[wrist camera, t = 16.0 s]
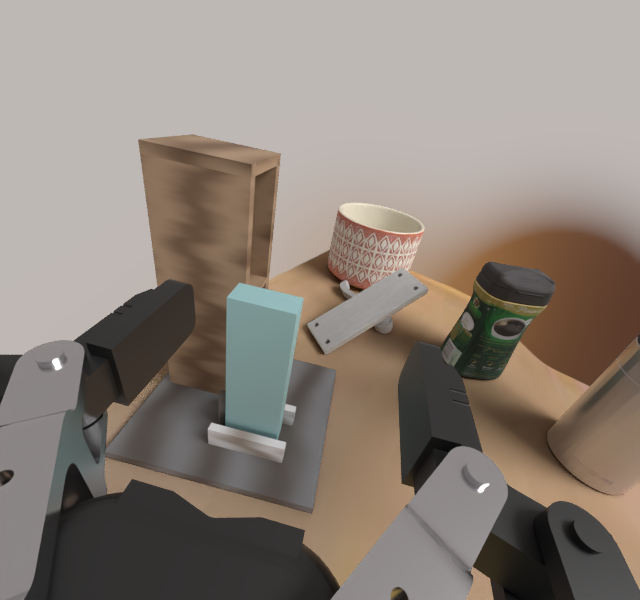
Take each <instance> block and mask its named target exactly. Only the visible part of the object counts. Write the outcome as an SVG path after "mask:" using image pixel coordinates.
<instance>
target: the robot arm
mask: <svg viewBox="0 0 640 600" xmlns="http://www.w3.org/2000/svg"><path fill="white" fill-rule="evenodd" d="M195 322H196V315H195V302H194V290H193V287H192V285H191V284H188V283H184V282H180V281H176V280H172V279H168V280H166V281H165V282H163V283H162V284H161V285H159V286H158V287H157V288H156V289H154V290H153V289H150V290H148V291H145V292H142V293H140V294H137V295H135V296H134V297H132V298H131V299H130V300H128V301H127V302H125V303H124V305H123V306H120V307H119V308H117V309H116V310H115V311H114V313H111V314H110V315H108V316H107V317H105V318H104V319H103V320H101V321H100V322H99V323H97V324H96V325H94V326H93V327H92V328H90V329H89V330H88V331H86V332H85V333H84V334H82V335H81V336H80V337H78V338H77V339H75V340H74V341H67V340H65V341H64V340H63V341H54V342H49V343H46V344H42V345H40V346H37V347H35V348H33V349H31V350H29V351H28V352H26V353H25V354H24V355H0V600H465V599H466V597H467V595H468V593H469V591H470V588H471V586H472V583H473V575H472V574H471V569H472V567H474V568H476V569H477V570H479V571H480V572H482V573H483V574H484V575H486V576H487V577H489V578H490V580H491V586H492V592H493V597H494V600H640V590H639V588H638V586H637V584H636V582H635V580H634V578H633V576H632V574H631V571H630V569H629V567H628V565H627V563H626V561H625V559H624V557H623V555H622V553H621V551H620V549H619V547H618V545H617V543H616V542H615V540H614V539H613V537H612V536H611V535H610V533H609V532H608V531H607V530H606V529H605V527H604V526H603V525H602V524H601V523H600V522H599V521H598V520H597V519H595V518H594V517H593V516H592V515H591V514H589V513H588V512H587V511H585V510H584V509H582V508H580V507H578V506H576V505H574V504H572V503H569V502H565V501H558V502H555V503H553V504H551V505H550V506H549V507H547V508H546V507H544V506H543V505H541V504H539V503H537V502H536V501H534V500H532V499H531V498H529V497H527V496H525V495H524V494H522V493H520V492H518V491H517V490H515V489H513V488H512V487H510V486H509V485H508V484H506V481H505V478H504V476H503V474H502V473H501V471H500V470H499V468H498V467H497V466H496V465H495V463H494V462H493V461H492V460H491V459H489V458H488V457H487V456H486V455H484V454H483V451H482V448H481V444H480V441H479V437H478V434H477V430H476V427H475V423H474V419H473V416H472V412H471V409H470V407H469V401H468V398H467V395H466V391H465V387H464V384H463V380H462V378H461V376H460V375H459V374H458V372H457V371H456V369H455V368H454V367H453V365H449V364H445V363H444V361H443V356H442V352H441V348H440V347H439V346H436V345H432V344H428V343H424V342H420V341H416V342H415V343H414V345H413V347H412V349H411V352H410V354H409V356H408V358H407V361H406V363H405V365H404V367H403V369H402V372H401V375H400V378H399V384H398V401H399V426H400V451H401V476H402V484H405V485H408V486H412V487H414V492H415V496H414V497H413V499H412V500H411V501H410V502H409V503H408V505H406V506H405V507H404V509H403V510H402V511H401V512H400V514H399V515H398V516H397V517H396V519H395V520H394V521H393V522H392V524H391V525H390V526H389V527H388V529H387V530H386V531H385V532H384V534H383V535H382V536H381V537H380V539H379V540H378V541H377V542H376V544H375V545H374V546H373V547H372V549H371V550H370V551H369V552H368V554H367V555H366V556H365V557H364V559H363V560H362V561H361V562H360V564H359V565H358V566H357V567H356V569H355V570H354V571H353V572H352V574H351V575H350V576H349V577H348V579H347V580H346V581H345V582H344V584H343V585H342V586H341V587H340V586H339V584H338V582H337V580H336V579H335V577H334V576H333V574H332V573H331V571H330V570H329V568H328V567H327V566H326V565H325V563H324V562H323V561H322V560H321V559H320V557H318V556H317V555H316V554H315V553H314V552H313V551H312V550H311V549H309V548H308V547H307V546H305V545H304V544H302V542H303V537H304V532H305V530H302V529H299V528H295V527H292V526H288V525H285V524H282V523H278V522H275V521H272V520H268V519H265V518H261V517H256V518H212V517H209V516H207V515H206V514H204V513H203V512H201V511H200V510H199V509H197V508H196V507H194V506H193V505H192V504H190V503H189V502H187V501H186V500H185V499H183V498H182V497H180V496H179V495H178V494H176V493H175V492H173V491H170V490H167V489H163V488H160V487H157V486H153V485H150V484H147V483H143V482H140V481H136V480H133V479H132V480H131V482H130V483H129V485H128V486H127V487H126V489H125V490H124V492H120V493H113V494H107V488H106V482H105V475H104V466H105V450H106V433H107V417H108V415H107V411H106V409H107V408H108V407H109V406H110V405H111V404H112V403H113V402H116V403H119V404H123V405H127V406H129V405H130V403H131V402H132V401H133V400H134V399H135V398H136V397H137V395H138V394H139V393H140V392H141V391H142V390H143V389H144V387H145V386H146V385H147V384H148V383H149V382H150V381H151V379H152V378H153V377H154V376H155V375H156V374H157V373H158V371H159V370H160V369H161V368H162V367H163V366H164V364H165V363H166V362H167V361H168V360H169V359H170V358H171V356H172V355H173V354H174V353H175V352H176V351H177V350H178V348H179V347H180V346H181V345H182V344H183V343H184V342H185V340H186V339H187V338H188V337H189V336H190V335H191V333H192V331H193V329H194V326H195ZM547 441H548V444H549V446H550V448H551V450H552V452H553V454H554V455H555V456H556V458H557V459H558V460H559V461H560V463H561V464H562V465H563V466H564V467H565V468H566V469H567V470H568V471H569V472H570V473H572V474H573V475H574V476H575V477H577V478H578V479H579V480H581V481H582V482H584V483H585V484H587V485H588V486H590V487H592V488H594V489H596V490H598V491H600V492H603V493H606V494H610V495H622V494H624V493H626V492H627V491H629V490H630V489H632V488H633V487H635V486H636V485H638V484H639V483H640V335H639V336H638V337H637V338H636V339H635V340H634V341H633V342H632V343H631V344H630V345H629V346H628V347H627V348H626V349H625V351H623V353H622V354H621V355H620V356H619V357H618V358H617V359H616V360H615V361H614V362H613V363H612V364H611V365H610V366H609V368H607V370H606V371H605V372H604V373H603V374H602V375H601V376H600V377H599V378H598V379H597V380H596V381H595V382H594V383H593V384H592V385H591V386H590V387H589V388H588V389H587V390H586V392H585V393H584V394H583V395H582V396H581V397H580V398H579V399H578V400H577V401H576V402H575V403H574V404H573V405H572V406H571V407H570V408H569V409H568V410H567V411H566V412H565V413H564V414H563V415H562V416H561V418H560V419H559V420H558V421H557V422H556V423H555V424H554V425H553V426H552V427H551V428H550V429H549V430H548V433H547Z"/></svg>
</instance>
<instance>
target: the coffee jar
mask: <svg viewBox="0 0 640 600" xmlns="http://www.w3.org/2000/svg"><path fill="white" fill-rule="evenodd" d="M554 291H555V282H554V281H553V280H552V279H550V278H549V277H548V276H547V275H546V274H544V273H543V272H541V271H540V270H538V269H529V268H523V267H518V266H511V265H505V264H499V263H495V262H488V263H486V264H485V265H484V266H483V268H482V270H481V272H480V273H479V275H478V276H477V278H476V279H475V282H474V286H473V295H472V297H471V299H470V301H469V303H468V305H467V307H466V308H465V310H464V312H463V313H462V315H461V317H460V318H459V320H458V321H457V323H456V324H455V326H454V327H453V329H452V330H451V332H450V333H449V335H448V336H447V338H446V339H445V341H444V343H443V345H442V347H441V352H442V356H443V360H444V362H445V364H449V365H453V367H454V368H455V369H456V371H457V372H458V374H459V375H461V376H465V377H469V378H475V379H486V380H492V379H496V378H498V377H499V376H500V375H501V374H502V372H503V370H504V368H505V367H506V365H507V363H508V361H509V359H510V357H511V355H512V353H513V351H514V349H515V347H516V346H517V344H518V342H519V340H520V338H521V337H522V335H523V333H524V332H525V330H526V328H527V327H528V326H529V324H530V323H531V321H532V320H533V319H534V318H535V317H536V316H537V315H538V314H539V313H540V312H542V311H543V310H544V309H545V308H546V306H547V305H548V303H549V301H550V299H551V297H552V295H553V293H554Z"/></svg>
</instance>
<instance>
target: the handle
mask: <svg viewBox="0 0 640 600" xmlns="http://www.w3.org/2000/svg"><path fill="white" fill-rule="evenodd" d="M340 288H341V291H342V294H343V295H344V296H345V297H346V298H347V299H348V300H346V301H345V302H343V303H341V304H340V305H338V306H336V307H335V308H333V309H331V310H330V311H328V312H326V313H325V314H323V315H321V316H320V317H318V318H316V319H314V320H313V321H311V322H309V323H308V324H307V327H308V328H309V330H310V332H311V333H312V335H313V336H314V338H315V339H316V341H317V343H318V344H319V346H320V347H321V349H322V350H323V352H324V354H329V353H331V352H332V351H334V350H336V349H337V348H339V347H340V346H342V345H344V344H345V343H347V342H349V341H350V340H352V339H353V338H355V337H357V336H358V335H360V334H362V333H363V332H365V331H366V330H368V329H370V328H371V327H373V326H374V327H375V329H376V331H378V332H379V333H382V334H386V333H389V332H390V331H391V330H392V328H393V323H392V318H391V315H393V314H394V313H396V312H397V311H399V310H401V309H402V308H404V307H406V306H407V305H409V304H411V303H412V302H414V301H415V300H417V299H419V298H420V297H422V296H424V295H425V294H427V292H428V288H427V287H426V286H425V285H424V284H422V283H421V282H420V281H419V280H417V279H416V278H415V277H414V276H412V275H411V274H410V273H408V272H407V271H406V270H405V269H403V268H400V269H399V270H397V271H395V272H394V273H392V274H390V275H389V276H387V277H385V278H384V279H382V280H380V281H378V282H377V283H375V284H373V285H372V286H370V287H368V288H367V289H365V290H363V291H362V292H360V293H358V294H355V293H353V292H352V291H350V290H349V289H350V287H349V283H348V281H347V280H344V281H342V282H341V283H340Z"/></svg>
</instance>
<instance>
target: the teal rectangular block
mask: <svg viewBox="0 0 640 600" xmlns="http://www.w3.org/2000/svg"><path fill="white" fill-rule="evenodd" d="M303 299H304V298H301V297H297V296H293V295H289V294H285V293H280V292H276V291H272V290H268V289H264V288H260V287H256V286H251V285H247V284H243V283H239V284H238V285H237V286H236V287H235V288H234V289H233V291H232V292H231V293H230V294H229V295H228V297H227V316H226V411H225V426H226V427H230V428H234V429H238V430H242V431H245V432H249V433H253V434H257V435H261V436H264V437H268V438H272V439H276V440H278V437H279V434H280V431H281V426H282V421H283V415H284V409H285V403H286V398H287V392H288V386H289V380H290V374H291V369H292V363H293V357H294V351H295V345H296V340H297V334H298V328H299V322H300V317H301V311H302V305H303Z"/></svg>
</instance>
